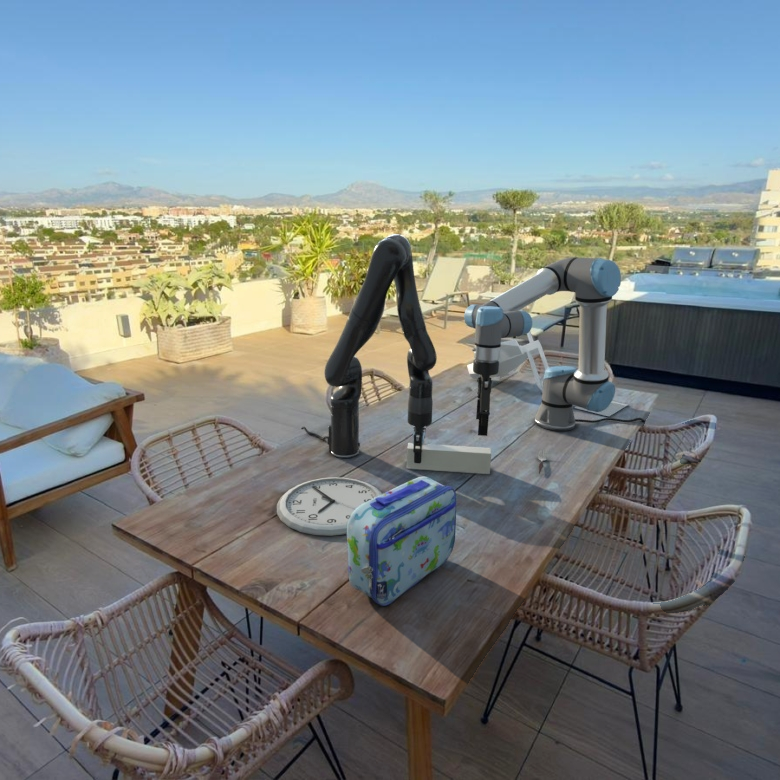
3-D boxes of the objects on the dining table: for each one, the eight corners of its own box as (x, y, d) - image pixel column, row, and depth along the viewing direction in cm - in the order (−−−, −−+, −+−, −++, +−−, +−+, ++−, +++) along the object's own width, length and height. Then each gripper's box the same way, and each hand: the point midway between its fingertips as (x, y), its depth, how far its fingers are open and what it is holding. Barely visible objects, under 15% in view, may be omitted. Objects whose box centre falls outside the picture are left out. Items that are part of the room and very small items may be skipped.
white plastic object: (488, 421, 262) (468, 398, 237) (469, 348, 284) (449, 320, 260) (560, 397, 250) (547, 371, 225) (534, 322, 272) (520, 291, 247)
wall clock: (392, 527, 129) (268, 531, 127) (391, 533, 130) (269, 537, 127) (383, 473, 158) (282, 475, 155) (383, 478, 158) (282, 480, 156)
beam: (488, 468, 167) (490, 447, 165) (489, 474, 162) (491, 453, 160) (407, 462, 170) (408, 442, 167) (406, 468, 165) (407, 448, 163)
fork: (534, 474, 163) (535, 468, 162) (539, 454, 177) (539, 449, 176) (543, 475, 162) (544, 469, 161) (547, 455, 176) (547, 450, 175)
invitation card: (608, 416, 214) (573, 407, 224) (608, 416, 214) (573, 408, 224) (628, 404, 229) (594, 396, 238) (628, 405, 229) (594, 397, 238)
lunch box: (376, 619, 101) (377, 524, 95) (340, 592, 109) (339, 502, 102) (459, 562, 119) (465, 479, 113) (424, 542, 126) (427, 463, 120)
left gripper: (410, 400, 168) (408, 448, 173) (405, 415, 155) (404, 466, 160) (433, 402, 167) (431, 449, 172) (431, 417, 154) (429, 468, 159)
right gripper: (472, 349, 166) (468, 412, 173) (475, 370, 143) (470, 441, 149) (496, 350, 166) (491, 413, 172) (502, 371, 142) (496, 443, 148)
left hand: (418, 457), depth 166 cm, fingers open, 7 cm apart
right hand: (481, 426), depth 161 cm, fingers open, 13 cm apart
